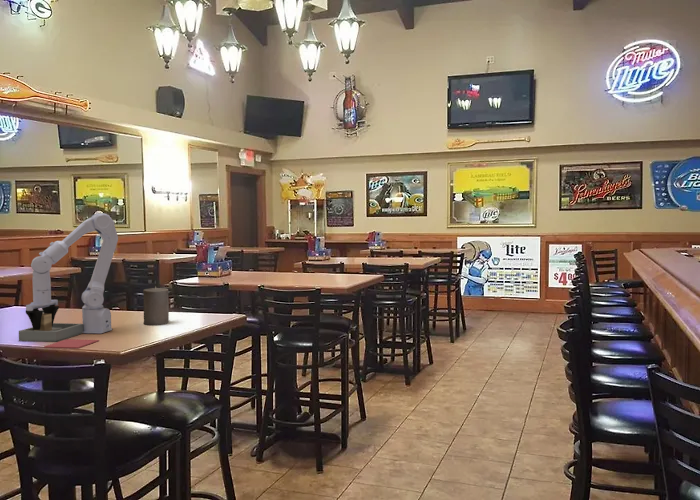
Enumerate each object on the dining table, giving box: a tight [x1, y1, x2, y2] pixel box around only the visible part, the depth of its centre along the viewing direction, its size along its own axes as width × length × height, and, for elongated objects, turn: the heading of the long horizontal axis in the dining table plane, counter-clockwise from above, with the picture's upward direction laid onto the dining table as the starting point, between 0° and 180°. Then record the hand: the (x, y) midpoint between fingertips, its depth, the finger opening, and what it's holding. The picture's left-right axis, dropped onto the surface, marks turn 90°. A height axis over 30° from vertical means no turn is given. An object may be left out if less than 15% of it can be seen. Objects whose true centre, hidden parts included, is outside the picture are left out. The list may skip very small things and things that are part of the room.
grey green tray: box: [18, 322, 84, 343], centre depth 213 cm, size 14×16×4 cm
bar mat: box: [43, 338, 100, 349], centre depth 200 cm, size 12×12×1 cm
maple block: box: [34, 314, 52, 331], centre depth 213 cm, size 4×4×6 cm
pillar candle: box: [142, 285, 170, 326], centre depth 240 cm, size 10×10×15 cm
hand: (43, 328), depth 213 cm, fingers open, 6 cm apart
